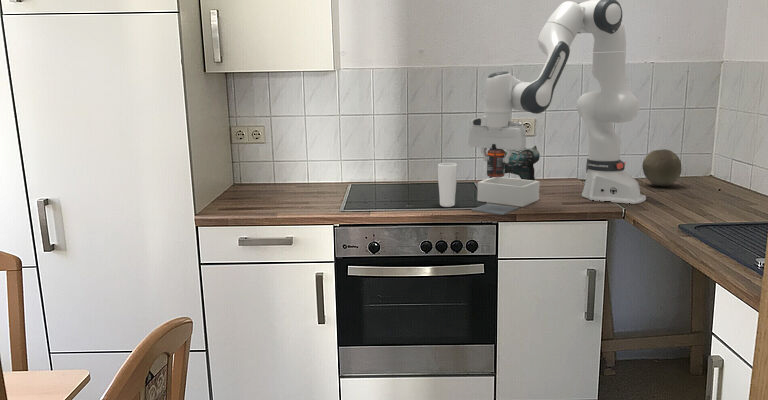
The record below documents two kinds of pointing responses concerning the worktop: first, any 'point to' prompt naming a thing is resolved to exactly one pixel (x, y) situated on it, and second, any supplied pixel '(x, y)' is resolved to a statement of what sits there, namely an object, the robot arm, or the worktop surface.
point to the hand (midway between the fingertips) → (495, 161)
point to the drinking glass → (447, 183)
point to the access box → (508, 191)
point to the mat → (495, 209)
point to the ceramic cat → (522, 163)
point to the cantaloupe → (662, 167)
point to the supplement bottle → (495, 162)
